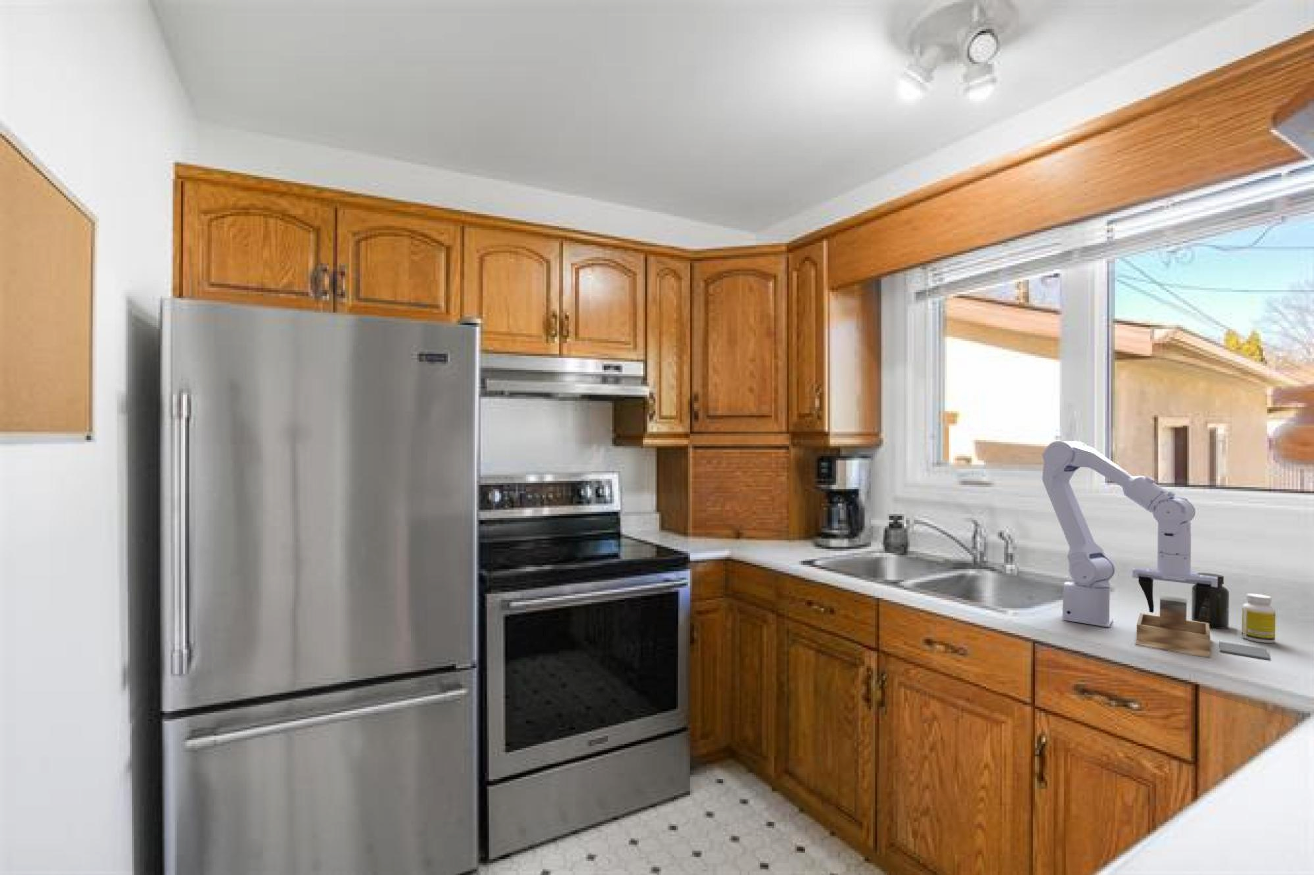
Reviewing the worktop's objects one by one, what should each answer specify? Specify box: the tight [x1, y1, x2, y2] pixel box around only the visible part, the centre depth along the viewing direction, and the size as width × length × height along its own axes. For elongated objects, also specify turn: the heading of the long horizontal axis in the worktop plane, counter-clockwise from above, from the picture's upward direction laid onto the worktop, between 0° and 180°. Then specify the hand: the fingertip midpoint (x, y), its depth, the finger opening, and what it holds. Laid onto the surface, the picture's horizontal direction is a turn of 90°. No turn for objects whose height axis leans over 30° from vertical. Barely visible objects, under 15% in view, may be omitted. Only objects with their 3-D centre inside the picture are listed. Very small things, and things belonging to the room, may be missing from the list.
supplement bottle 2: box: [1241, 593, 1276, 644], centre depth 142 cm, size 5×5×10 cm
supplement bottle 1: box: [1191, 572, 1230, 629], centre depth 154 cm, size 7×7×12 cm
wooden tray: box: [1134, 612, 1211, 658], centre depth 142 cm, size 12×20×4 cm, turn 140°
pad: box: [1218, 641, 1271, 661], centre depth 134 cm, size 8×8×1 cm
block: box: [1159, 595, 1188, 632], centre depth 142 cm, size 4×4×9 cm
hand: (1173, 614), depth 142 cm, fingers open, 7 cm apart
